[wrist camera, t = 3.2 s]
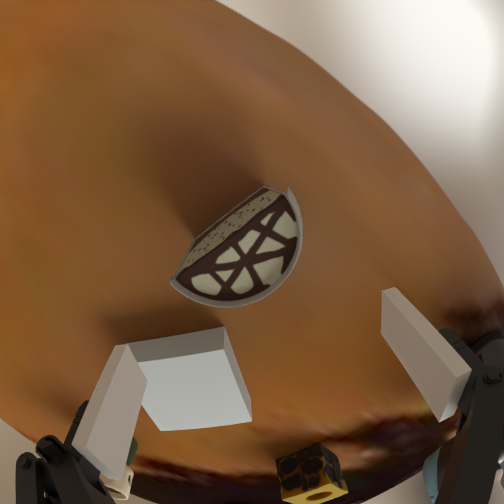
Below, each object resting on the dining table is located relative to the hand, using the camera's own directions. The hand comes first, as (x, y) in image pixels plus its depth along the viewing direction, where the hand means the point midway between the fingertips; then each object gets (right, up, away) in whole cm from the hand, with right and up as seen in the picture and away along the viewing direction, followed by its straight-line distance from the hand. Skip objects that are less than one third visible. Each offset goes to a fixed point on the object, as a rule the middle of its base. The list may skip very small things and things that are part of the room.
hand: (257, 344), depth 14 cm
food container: (-1, +6, +18) cm, 19 cm away
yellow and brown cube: (+11, -38, +35) cm, 53 cm away
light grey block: (-9, -13, +25) cm, 29 cm away
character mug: (-25, -32, +31) cm, 51 cm away
